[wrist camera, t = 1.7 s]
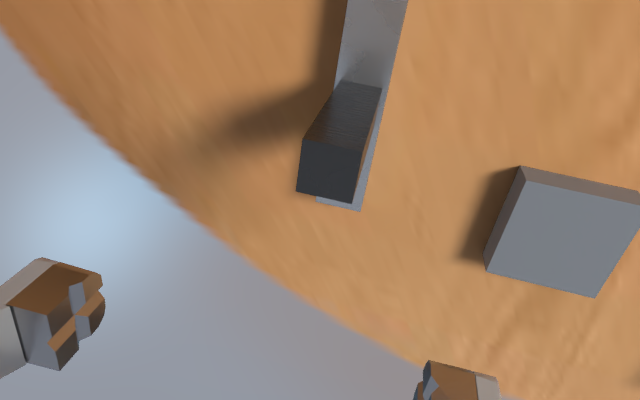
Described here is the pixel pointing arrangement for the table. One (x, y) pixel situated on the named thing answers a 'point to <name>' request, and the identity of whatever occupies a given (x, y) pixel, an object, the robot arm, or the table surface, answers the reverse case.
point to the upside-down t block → (353, 106)
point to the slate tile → (562, 231)
